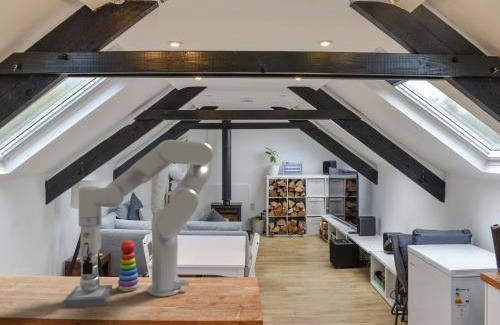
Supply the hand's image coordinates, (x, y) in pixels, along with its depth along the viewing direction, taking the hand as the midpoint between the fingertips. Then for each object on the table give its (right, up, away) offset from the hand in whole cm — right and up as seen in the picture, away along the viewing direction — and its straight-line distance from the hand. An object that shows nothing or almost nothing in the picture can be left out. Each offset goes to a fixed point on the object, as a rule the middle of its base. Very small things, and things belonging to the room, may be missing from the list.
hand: (90, 270), depth 134 cm
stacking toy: (+10, -10, +11) cm, 18 cm away
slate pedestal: (0, -10, 0) cm, 10 cm away
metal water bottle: (0, -7, +1) cm, 8 cm away
